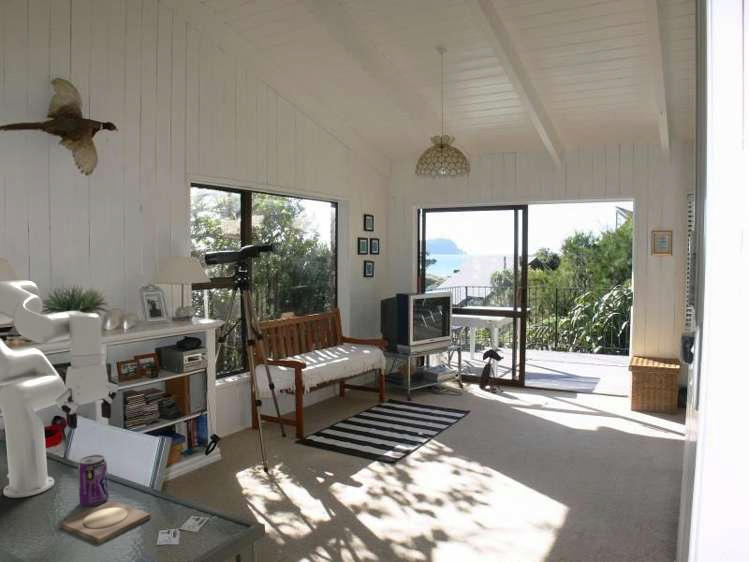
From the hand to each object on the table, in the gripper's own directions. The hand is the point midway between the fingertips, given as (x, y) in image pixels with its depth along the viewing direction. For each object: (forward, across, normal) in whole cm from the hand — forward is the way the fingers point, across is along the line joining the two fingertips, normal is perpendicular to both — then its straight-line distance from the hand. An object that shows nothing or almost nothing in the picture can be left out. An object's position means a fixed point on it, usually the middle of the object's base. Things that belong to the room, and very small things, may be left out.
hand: (89, 422), depth 157 cm
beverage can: (+22, 0, 0) cm, 22 cm away
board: (+22, +6, +14) cm, 27 cm away
